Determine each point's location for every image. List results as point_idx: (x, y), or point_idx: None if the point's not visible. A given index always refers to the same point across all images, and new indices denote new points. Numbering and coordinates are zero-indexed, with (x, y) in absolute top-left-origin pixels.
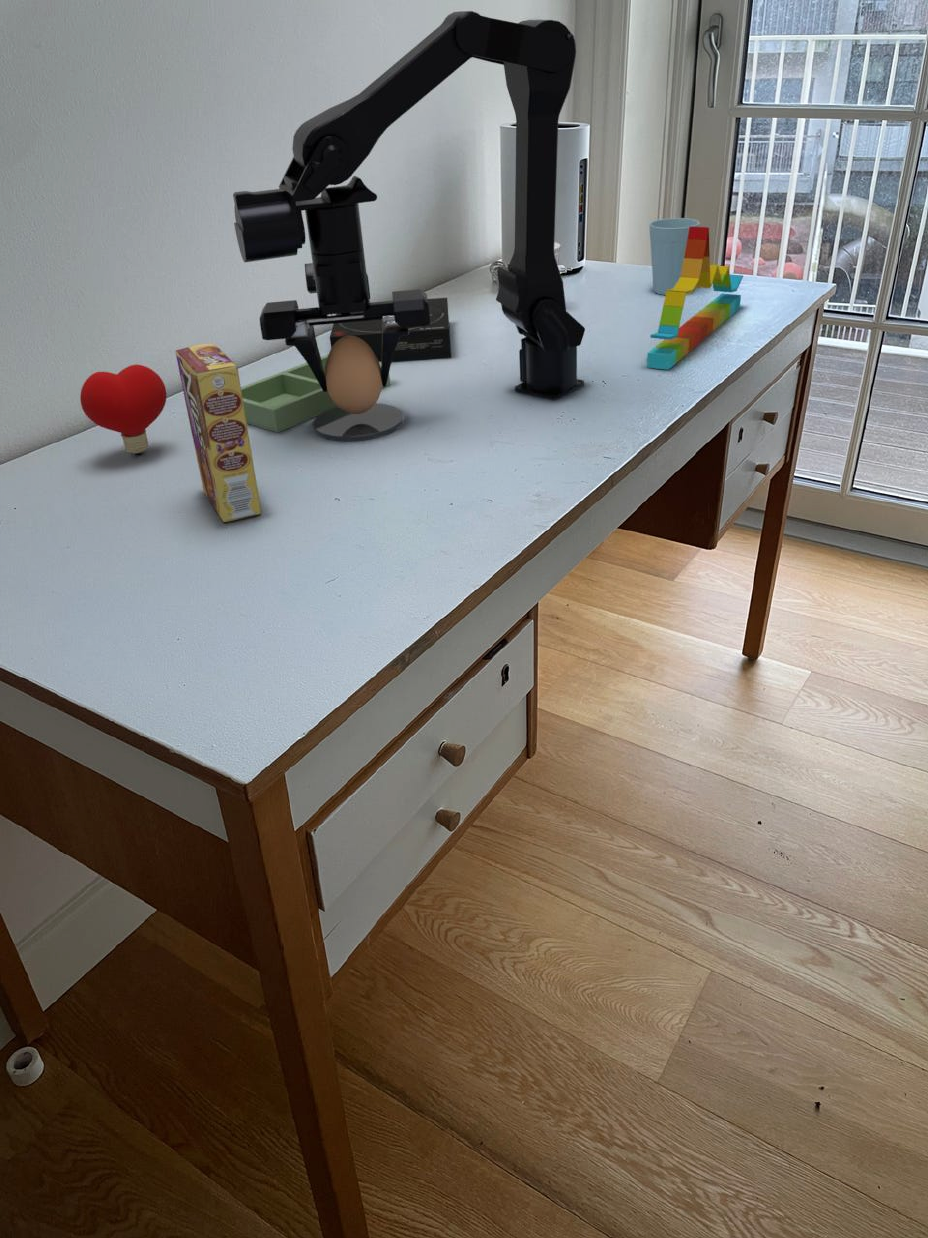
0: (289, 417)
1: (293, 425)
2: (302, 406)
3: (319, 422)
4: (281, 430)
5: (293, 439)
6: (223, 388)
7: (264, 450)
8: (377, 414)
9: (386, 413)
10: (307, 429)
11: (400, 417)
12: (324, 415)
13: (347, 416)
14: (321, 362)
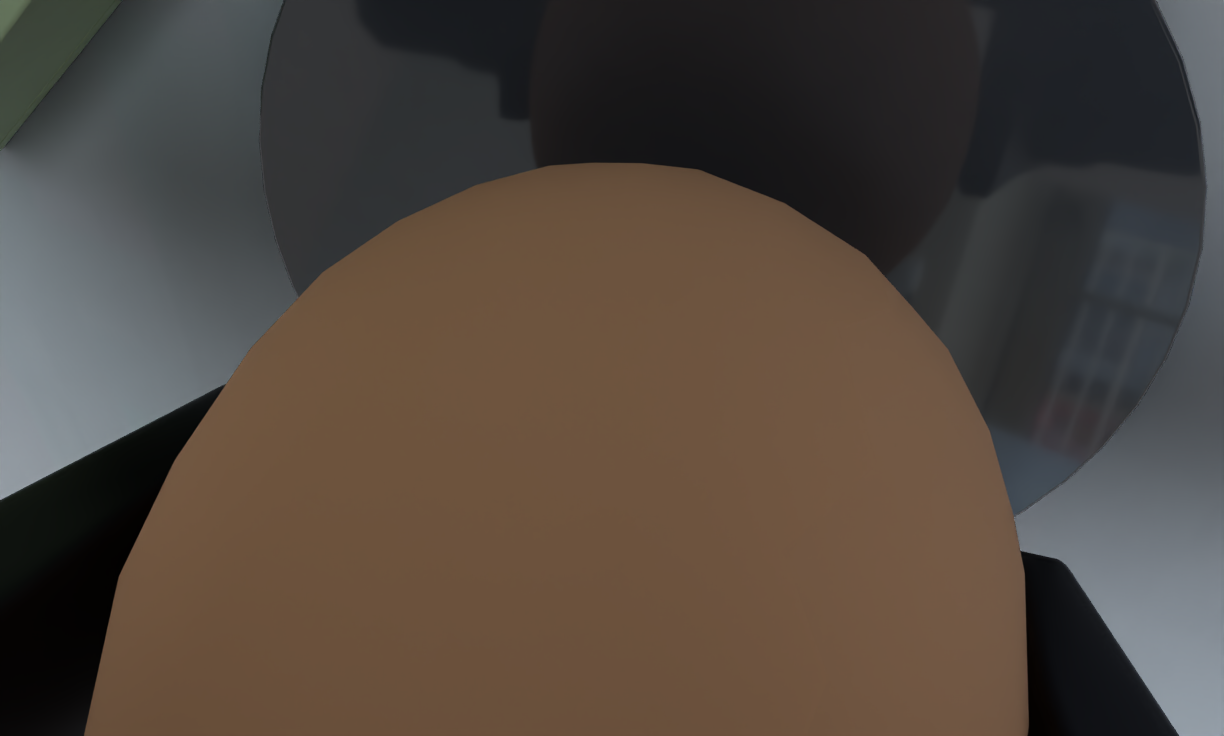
0: (9, 105)
1: (83, 46)
2: (58, 17)
3: (320, 199)
4: (17, 129)
5: (174, 321)
6: None
7: (34, 407)
8: (906, 238)
9: (1010, 251)
10: (236, 173)
11: (1110, 403)
12: (342, 29)
13: (586, 160)
14: (25, 663)
